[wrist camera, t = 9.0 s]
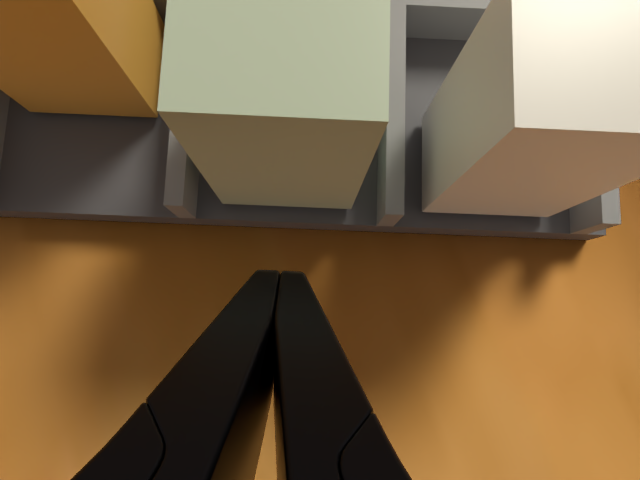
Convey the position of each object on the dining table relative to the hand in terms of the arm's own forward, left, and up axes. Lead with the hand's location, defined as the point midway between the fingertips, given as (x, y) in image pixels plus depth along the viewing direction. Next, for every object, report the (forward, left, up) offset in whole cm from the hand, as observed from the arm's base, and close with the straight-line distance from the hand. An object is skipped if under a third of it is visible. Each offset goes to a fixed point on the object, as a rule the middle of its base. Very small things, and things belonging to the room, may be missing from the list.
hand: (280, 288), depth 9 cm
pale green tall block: (+4, +2, -8) cm, 10 cm away
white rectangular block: (+7, -4, -8) cm, 12 cm away
